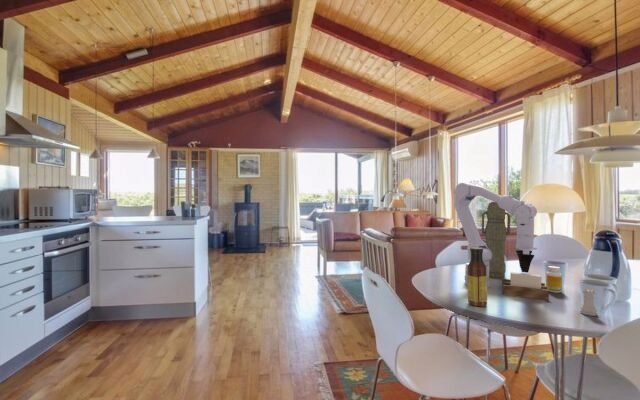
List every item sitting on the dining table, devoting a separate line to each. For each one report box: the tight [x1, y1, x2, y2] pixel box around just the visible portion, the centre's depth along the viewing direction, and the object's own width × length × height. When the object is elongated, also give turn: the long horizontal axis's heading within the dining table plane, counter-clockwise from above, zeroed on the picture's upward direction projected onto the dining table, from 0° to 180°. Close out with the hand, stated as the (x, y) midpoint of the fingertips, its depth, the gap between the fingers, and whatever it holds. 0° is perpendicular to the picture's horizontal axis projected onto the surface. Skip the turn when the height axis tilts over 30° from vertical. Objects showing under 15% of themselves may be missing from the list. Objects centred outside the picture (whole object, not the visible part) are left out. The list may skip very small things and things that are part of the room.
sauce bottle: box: [467, 247, 488, 308], centre depth 122 cm, size 7×6×20 cm
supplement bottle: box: [545, 265, 563, 294], centre depth 141 cm, size 5×5×10 cm
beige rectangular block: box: [510, 271, 542, 289], centre depth 134 cm, size 10×3×7 cm, turn 64°
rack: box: [501, 278, 550, 301], centre depth 137 cm, size 15×13×4 cm
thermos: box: [481, 201, 511, 280], centre depth 164 cm, size 9×12×35 cm
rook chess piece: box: [580, 288, 598, 317], centre depth 114 cm, size 4×4×8 cm
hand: (524, 270), depth 135 cm, fingers open, 7 cm apart
